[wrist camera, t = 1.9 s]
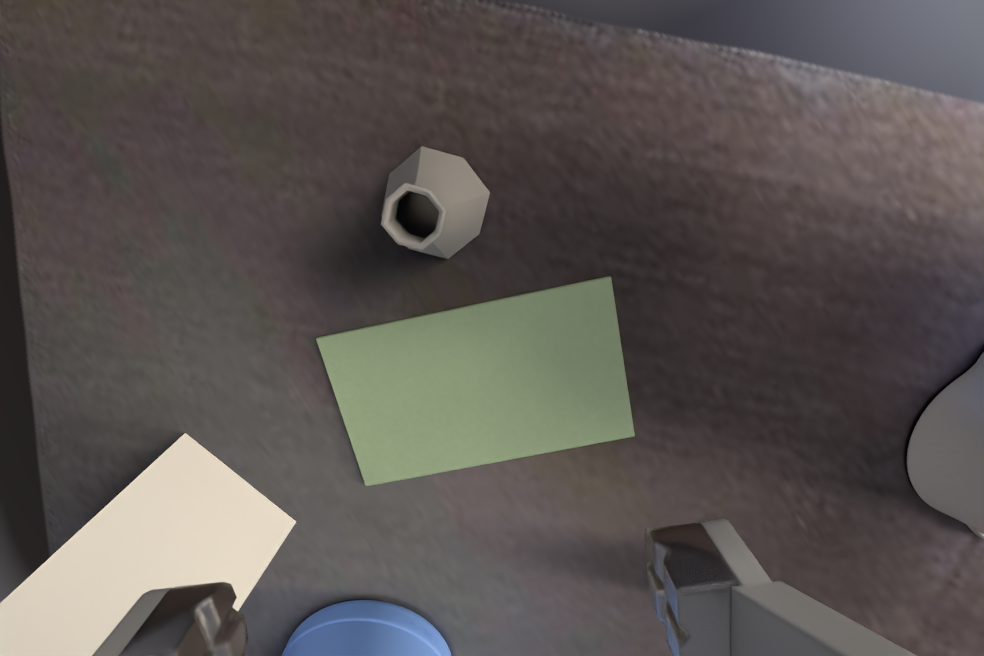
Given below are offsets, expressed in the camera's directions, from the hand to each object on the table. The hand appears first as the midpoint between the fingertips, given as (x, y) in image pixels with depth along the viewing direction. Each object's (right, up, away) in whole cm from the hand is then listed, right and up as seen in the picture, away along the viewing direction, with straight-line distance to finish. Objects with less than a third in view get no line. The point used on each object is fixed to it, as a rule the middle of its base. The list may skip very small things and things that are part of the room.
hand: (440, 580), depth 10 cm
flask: (-3, +14, +25) cm, 29 cm away
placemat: (0, 0, +29) cm, 29 cm away
